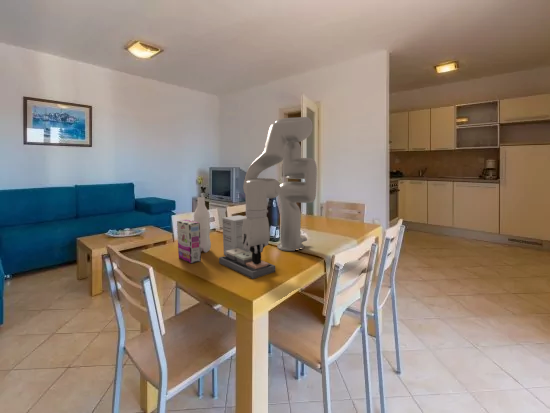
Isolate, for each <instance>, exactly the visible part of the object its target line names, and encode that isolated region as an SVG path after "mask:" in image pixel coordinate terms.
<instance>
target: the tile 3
mask: <svg viewBox="0 0 550 413" xmlns="http://www.w3.org/2000/svg"><path fill="white" fill-rule="evenodd" d="M268 263H269V262H267V261H264V260H262V261H261V263H259V264H256V263H253V262H252V261H250V262H247V263H246V265H247V269H249V270H251V271H256V270H259V269H263V268H266V267H267V265H268Z"/></svg>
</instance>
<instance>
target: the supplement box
mask: <svg viewBox="0 0 550 413" xmlns="http://www.w3.org/2000/svg"><path fill="white" fill-rule="evenodd" d="M244 218H246V215H245V216H243V215H234V216H233V215H232V216H227V217H222V238H223V239H222V243H223V244H222V246H223V256H227V253H225V251H227V250H232V249H236V248H239V249H241V250H244V251H246V252H249V253H252V252H251V251H250V250H246V249H244V244H242V226H243V220H244Z"/></svg>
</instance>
